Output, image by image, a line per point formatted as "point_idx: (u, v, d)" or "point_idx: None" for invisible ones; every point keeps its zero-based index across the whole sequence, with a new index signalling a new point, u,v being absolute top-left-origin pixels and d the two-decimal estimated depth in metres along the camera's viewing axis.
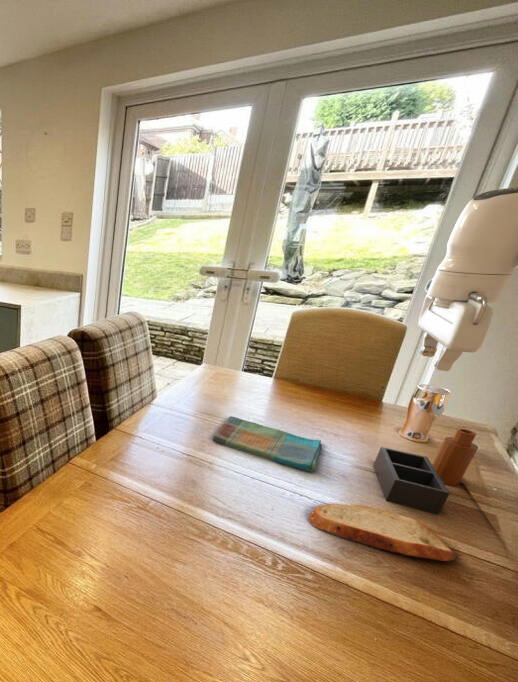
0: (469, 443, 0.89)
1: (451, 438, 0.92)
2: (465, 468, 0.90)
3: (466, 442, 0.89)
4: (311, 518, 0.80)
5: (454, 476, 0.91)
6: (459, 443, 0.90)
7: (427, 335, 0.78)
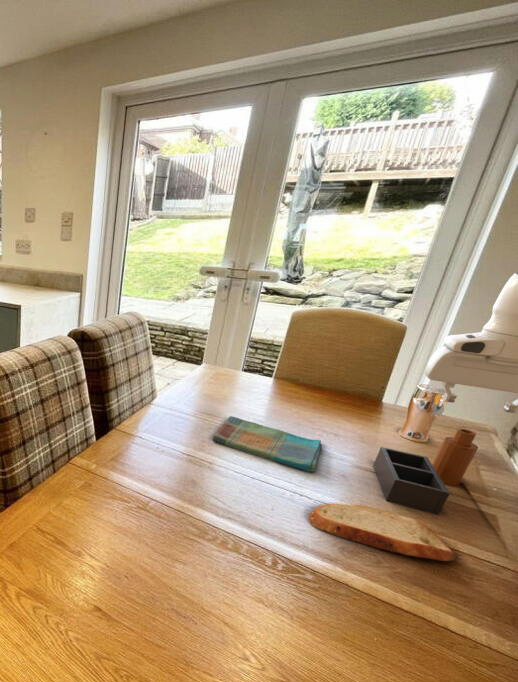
0: (469, 443, 0.89)
1: (451, 438, 0.92)
2: (465, 468, 0.90)
3: (466, 442, 0.89)
4: (311, 518, 0.80)
5: (454, 476, 0.91)
6: (459, 443, 0.90)
7: (453, 386, 0.87)
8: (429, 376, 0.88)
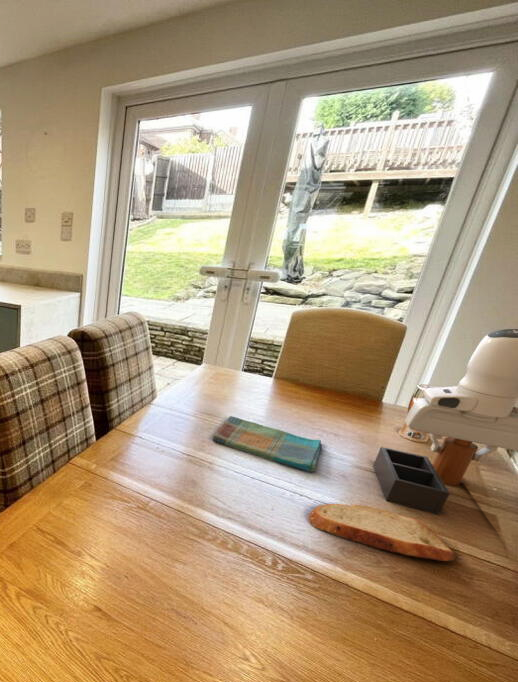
0: (469, 443, 0.89)
1: (451, 438, 0.92)
2: (465, 468, 0.90)
3: (466, 442, 0.89)
4: (311, 518, 0.80)
5: (454, 476, 0.91)
6: (459, 443, 0.90)
7: (440, 437, 0.91)
8: (409, 426, 0.93)
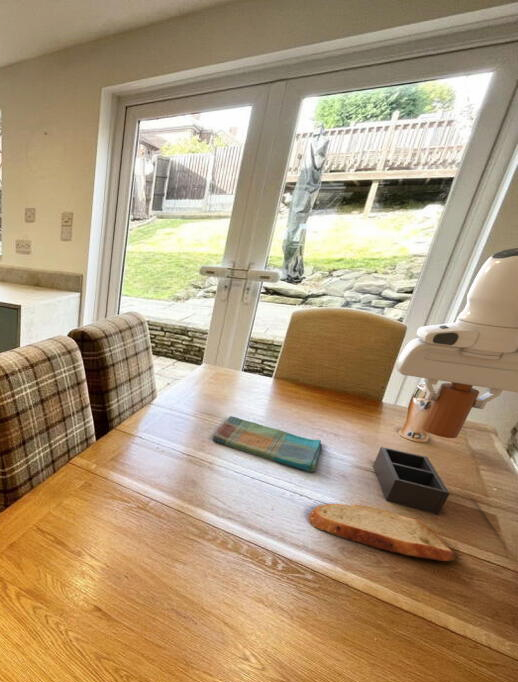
0: (469, 387, 0.77)
1: (448, 383, 0.80)
2: (464, 417, 0.78)
3: (466, 386, 0.77)
4: (311, 518, 0.80)
5: (452, 427, 0.79)
6: (458, 388, 0.78)
7: (436, 382, 0.79)
8: (400, 370, 0.81)
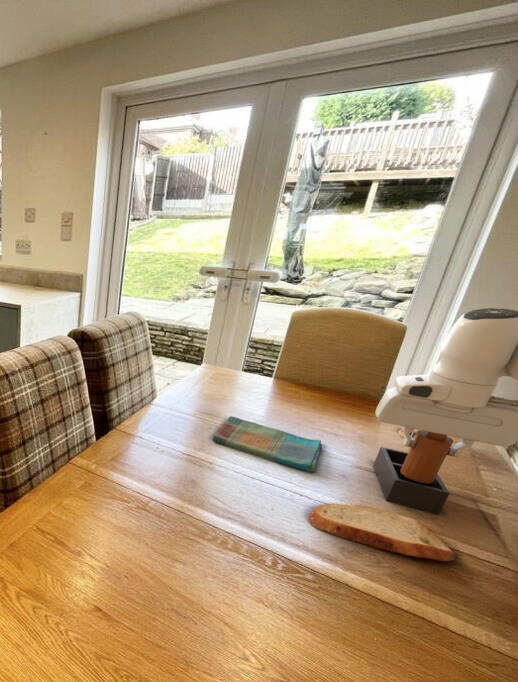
0: (443, 436, 0.80)
1: (424, 431, 0.84)
2: (439, 464, 0.82)
3: (440, 435, 0.81)
4: (311, 518, 0.80)
5: (427, 473, 0.83)
6: (433, 436, 0.81)
7: (413, 430, 0.83)
8: (379, 418, 0.85)
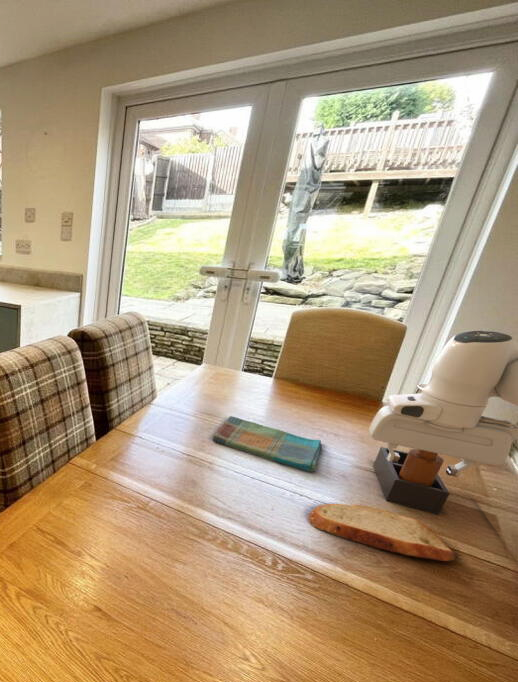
0: (434, 456, 0.82)
1: (416, 450, 0.86)
2: (430, 483, 0.83)
3: (431, 455, 0.82)
4: (311, 518, 0.80)
5: None
6: (424, 456, 0.83)
7: (396, 446, 0.85)
8: (372, 436, 0.86)
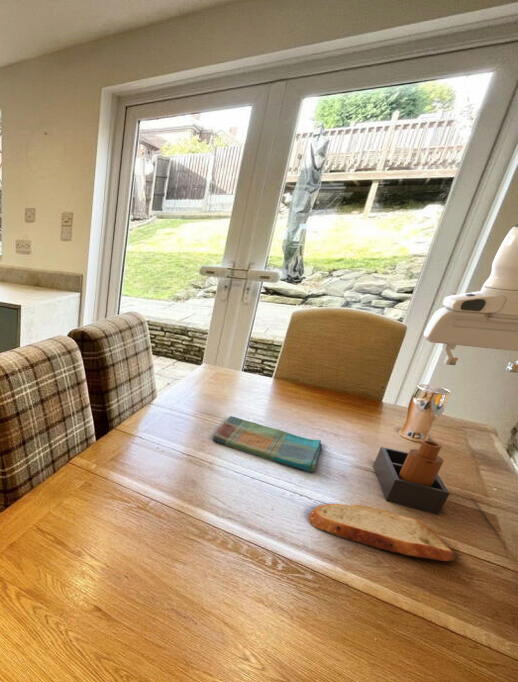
0: (434, 456, 0.82)
1: (416, 450, 0.86)
2: (430, 483, 0.83)
3: (431, 455, 0.82)
4: (311, 518, 0.80)
5: None
6: (424, 456, 0.83)
7: (454, 347, 0.84)
8: (429, 338, 0.85)
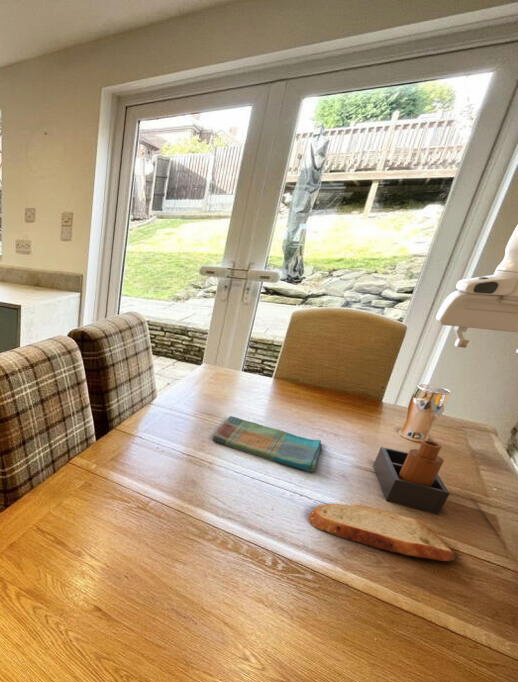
0: (434, 456, 0.82)
1: (416, 450, 0.86)
2: (430, 483, 0.83)
3: (431, 455, 0.82)
4: (311, 518, 0.80)
5: None
6: (424, 456, 0.83)
7: None
8: (441, 321, 0.88)
